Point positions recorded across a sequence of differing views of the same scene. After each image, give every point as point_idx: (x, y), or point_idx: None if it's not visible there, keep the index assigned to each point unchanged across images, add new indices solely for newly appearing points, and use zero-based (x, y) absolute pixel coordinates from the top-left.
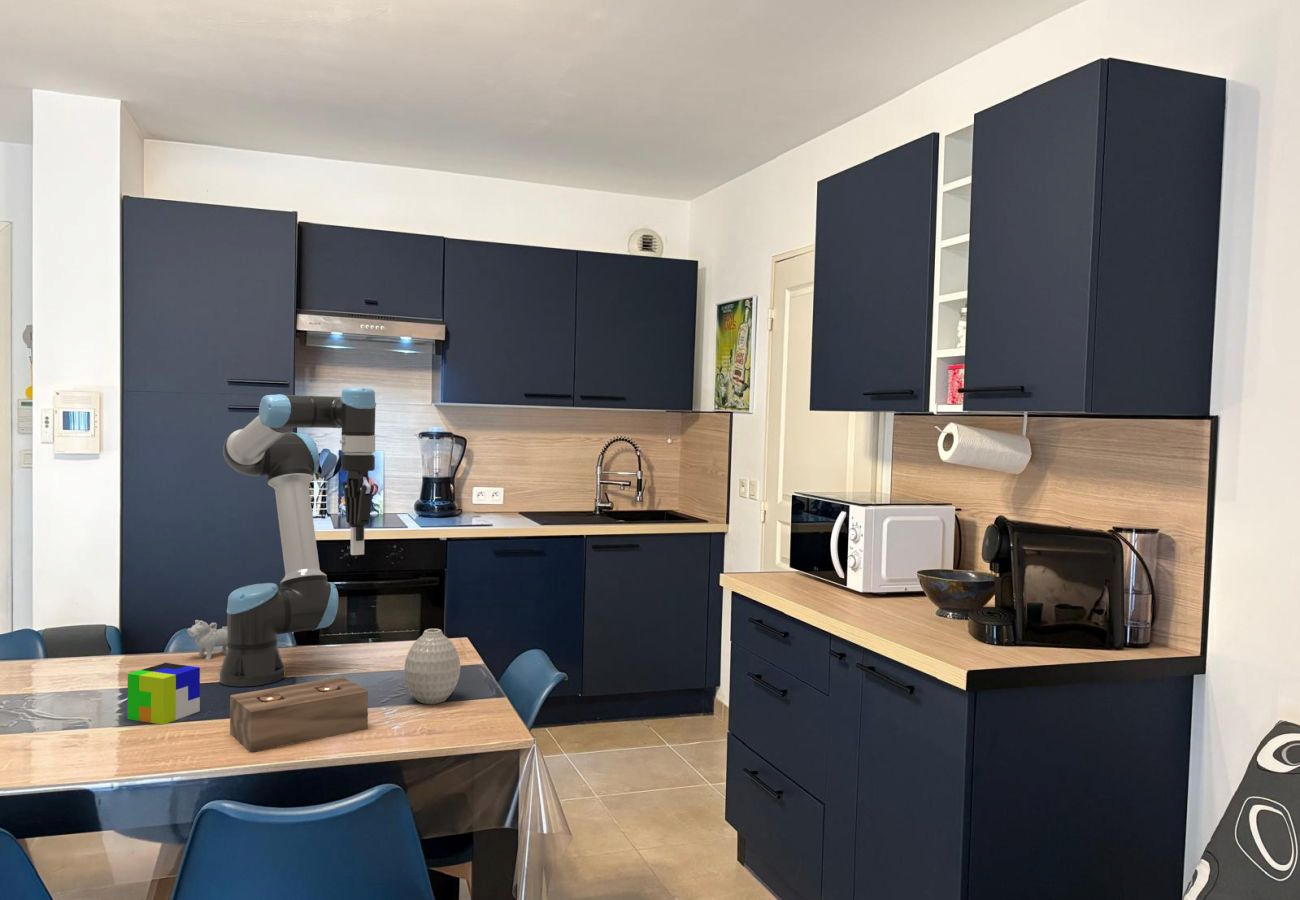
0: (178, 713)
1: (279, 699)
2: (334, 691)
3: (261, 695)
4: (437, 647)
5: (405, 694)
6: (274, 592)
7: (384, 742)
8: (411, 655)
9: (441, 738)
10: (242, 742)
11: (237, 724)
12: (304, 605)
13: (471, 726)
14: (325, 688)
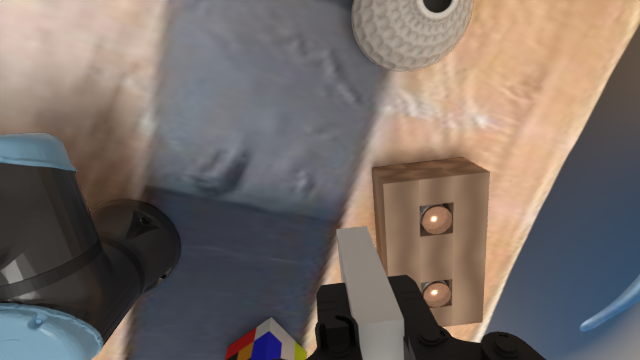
0: (292, 343)
1: (446, 284)
2: (458, 215)
3: None
4: (470, 7)
5: (334, 52)
6: (49, 315)
7: (528, 154)
8: (424, 62)
9: (566, 80)
10: None
11: None
12: (63, 226)
13: (552, 17)
14: (442, 225)
